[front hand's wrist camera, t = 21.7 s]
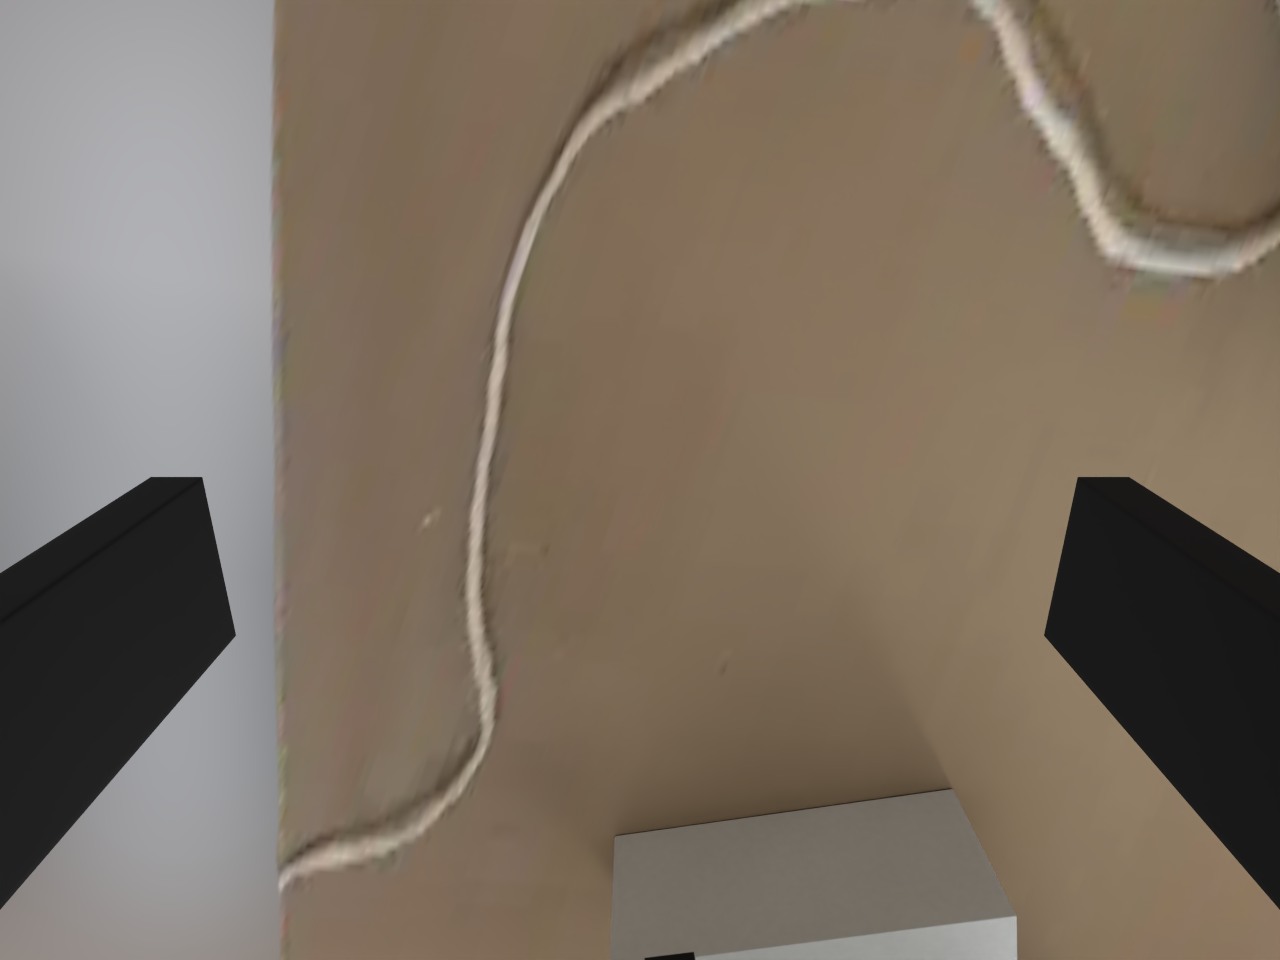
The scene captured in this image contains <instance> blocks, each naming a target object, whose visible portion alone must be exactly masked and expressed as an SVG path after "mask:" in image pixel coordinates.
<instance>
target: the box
mask: <svg viewBox="0 0 1280 960" xmlns="http://www.w3.org/2000/svg"><path fill="white" fill-rule="evenodd" d="M688 952H694V955H695V960H1017V916H1016V914H1015V912H1014V910H1013V908H1012V906H1011V904H1010V902H1009V900H1008V898H1007V896H1006V894H1005V892H1004V890H1003V888H1002V886H1001V884H1000V882H999V880H998V878H997V876H996V874H995V872H994V870H993V868H992V866H991V864H990V862H989V860H988V858H987V856H986V854H985V852H984V850H983V848H982V846H981V844H980V842H979V840H978V838H977V836H976V834H975V832H974V830H973V828H972V826H971V824H970V822H969V820H968V818H967V816H966V814H965V812H964V810H963V808H962V806H961V804H960V802H959V800H958V798H957V796H956V794H955V792H954V790H953V789H948V790H941V791H934V792H927V793H920V794H913V795H906V796H898V797H891V798H884V799H877V800H870V801H863V802H856V803H848V804H841V805H834V806H827V807H820V808H813V809H806V810H799V811H791V812H784V813H777V814H770V815H763V816H756V817H749V818H741V819H734V820H727V821H720V822H713V823H706V824H699V825H691V826H684V827H677V828H670V829H663V830H656V831H649V832H641V833H634V834H627V835H620V836H615V841H614V866H613V891H612V916H611V941H610V960H645V958H647V957H656V956H664V955H672V954H680V953H688Z"/></svg>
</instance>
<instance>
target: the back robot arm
mask: <svg viewBox="0 0 1280 960" xmlns="http://www.w3.org/2000/svg"><path fill="white" fill-rule="evenodd" d="M645 960H695V955H694V952H688V953H680V954H672V955H664V956H656V957H647V958H645Z"/></svg>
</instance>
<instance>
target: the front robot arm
mask: <svg viewBox="0 0 1280 960" xmlns="http://www.w3.org/2000/svg"><path fill="white" fill-rule="evenodd" d="M235 636H236V634H235V629H234V624H233V620H232V615H231V610H230V606H229V601H228V596H227V591H226V587H225V582H224V577H223V573H222V568H221V563H220V559H219V554H218V549H217V545H216V540H215V535H214V531H213V526H212V521H211V516H210V512H209V507H208V502H207V498H206V493H205V488H204V484H203V479H202V477H150V478H149V479H147V480H146V481H144V482H143V483H141V484H140V485H138V486H137V487H135V488H133V489H132V490H130V491H129V492H127V493H125V494H124V495H122V496H121V497H119V498H118V499H116V500H115V501H113V502H111V503H110V504H108V505H107V506H105V507H104V508H102V509H100V510H99V511H97V512H96V513H94V514H92V515H91V516H89V517H88V518H86V519H85V520H83V521H81V522H80V523H78V524H77V525H75V526H74V527H72V528H71V529H69V530H67V531H66V532H64V533H63V534H61V535H60V536H58V537H56V538H55V539H53V540H52V541H50V542H49V543H47V544H45V545H44V546H42V547H41V548H39V549H38V550H36V551H34V552H33V553H31V554H30V555H28V556H27V557H25V558H23V559H22V560H20V561H19V562H17V563H16V564H14V565H12V566H11V567H9V568H8V569H6V570H5V571H3V572H2V573H0V909H1V908H2V907H3V906H4V905H5V903H6V902H7V901H8V900H9V899H10V898H11V896H12V895H13V894H14V893H15V892H16V890H17V889H18V888H19V887H20V886H21V885H22V884H23V882H24V881H25V880H26V879H27V878H28V877H29V875H30V874H31V873H32V872H33V871H34V870H35V869H36V867H37V866H38V865H39V864H40V863H41V862H42V860H43V859H44V858H45V857H46V856H47V855H48V853H49V852H50V851H51V850H52V849H53V848H54V846H55V845H56V844H57V843H58V842H59V841H60V839H61V838H62V837H63V836H64V835H65V834H66V832H67V831H68V830H69V829H70V828H71V827H72V825H73V824H74V823H75V822H76V821H77V820H78V818H79V817H80V816H81V815H82V814H83V813H84V812H85V810H86V809H87V808H88V807H89V806H90V805H91V803H92V802H93V801H94V800H95V799H96V797H97V796H98V795H99V794H100V793H101V792H102V791H103V789H104V788H105V787H106V786H107V785H108V784H109V782H110V781H111V780H112V779H113V778H114V777H115V775H116V774H117V773H118V772H119V771H120V770H121V768H122V767H123V766H124V765H125V764H126V763H127V761H128V760H129V759H130V758H131V757H132V756H133V755H134V753H135V752H136V751H137V750H138V749H139V747H140V746H141V745H142V744H143V743H144V742H145V740H146V739H147V738H148V737H149V736H150V735H151V734H152V732H153V731H154V730H155V729H156V728H157V727H158V725H159V724H160V723H161V722H162V721H163V720H164V718H165V717H166V716H167V715H168V714H169V713H170V711H171V710H172V709H173V708H174V707H175V706H176V704H177V703H178V702H179V701H180V700H181V699H182V698H183V696H184V695H185V694H186V693H187V692H188V691H189V689H190V688H191V687H192V686H193V685H194V684H195V682H196V681H197V680H198V679H199V678H200V677H201V675H202V674H203V673H204V672H205V671H206V670H207V668H208V667H209V666H210V665H211V664H212V663H213V661H214V660H215V659H216V658H217V657H218V656H219V655H220V653H221V652H222V651H223V650H224V649H225V647H226V646H227V645H228V644H229V643H230V642H231V641H232V639H233V638H234V637H235ZM1044 636H1045V637H1046V638H1047V639H1048V641H1049V642H1050V643H1051V644H1052V645H1053V646H1054V648H1055V649H1056V650H1057V651H1058V652H1059V653H1060V655H1061V656H1062V657H1063V658H1064V659H1065V660H1066V661H1067V663H1068V664H1069V665H1070V666H1071V667H1072V668H1073V670H1074V671H1075V672H1076V673H1077V674H1078V675H1079V677H1080V678H1081V679H1082V680H1083V681H1084V682H1085V684H1086V685H1087V686H1088V687H1089V688H1090V689H1091V691H1092V692H1093V693H1094V694H1095V695H1096V696H1097V698H1098V699H1099V700H1100V701H1101V702H1102V703H1103V705H1104V706H1105V707H1106V708H1107V709H1108V710H1109V711H1110V713H1111V714H1112V715H1113V716H1114V717H1115V718H1116V720H1117V721H1118V722H1119V723H1120V724H1121V725H1122V727H1123V728H1124V729H1125V730H1126V731H1127V732H1128V734H1129V735H1130V736H1131V737H1132V738H1133V739H1134V741H1135V742H1136V743H1137V744H1138V745H1139V746H1140V748H1141V749H1142V750H1143V751H1144V752H1145V753H1146V755H1147V756H1148V757H1149V758H1150V759H1151V760H1152V762H1153V763H1154V764H1155V765H1156V766H1157V767H1158V768H1159V770H1160V771H1161V772H1162V773H1163V774H1164V775H1165V777H1166V778H1167V779H1168V780H1169V781H1170V782H1171V784H1172V785H1173V786H1174V787H1175V788H1176V789H1177V791H1178V792H1179V793H1180V794H1181V795H1182V796H1183V798H1184V799H1185V800H1186V801H1187V802H1188V803H1189V805H1190V806H1191V807H1192V808H1193V809H1194V810H1195V812H1196V813H1197V814H1198V815H1199V816H1200V817H1201V818H1202V820H1203V821H1204V822H1205V823H1206V824H1207V825H1208V827H1209V828H1210V829H1211V830H1212V831H1213V832H1214V834H1215V835H1216V836H1217V837H1218V838H1219V839H1220V841H1221V842H1222V843H1223V844H1224V845H1225V846H1226V848H1227V849H1228V850H1229V851H1230V852H1231V853H1232V855H1233V856H1234V857H1235V858H1236V859H1237V860H1238V862H1239V863H1240V864H1241V865H1242V866H1243V867H1244V869H1245V870H1246V871H1247V872H1248V873H1249V874H1250V875H1251V877H1252V878H1253V879H1254V880H1255V881H1256V882H1257V884H1258V885H1259V886H1260V887H1261V888H1262V889H1263V891H1264V892H1265V893H1266V894H1267V895H1268V896H1269V898H1270V899H1271V900H1272V901H1273V902H1274V903H1275V905H1276V906H1277V907H1278V908H1279V909H1280V573H1279V572H1277V571H1275V570H1274V569H1272V568H1271V567H1269V566H1268V565H1266V564H1264V563H1263V562H1261V561H1260V560H1258V559H1257V558H1255V557H1253V556H1252V555H1250V554H1249V553H1247V552H1246V551H1244V550H1242V549H1241V548H1239V547H1238V546H1236V545H1235V544H1233V543H1231V542H1230V541H1228V540H1227V539H1225V538H1224V537H1222V536H1220V535H1219V534H1217V533H1216V532H1214V531H1213V530H1211V529H1210V528H1208V527H1206V526H1205V525H1203V524H1202V523H1200V522H1199V521H1197V520H1195V519H1194V518H1192V517H1191V516H1189V515H1188V514H1186V513H1184V512H1183V511H1181V510H1180V509H1178V508H1177V507H1175V506H1173V505H1172V504H1170V503H1169V502H1167V501H1166V500H1164V499H1162V498H1161V497H1159V496H1158V495H1156V494H1155V493H1153V492H1151V491H1150V490H1148V489H1147V488H1145V487H1144V486H1142V485H1140V484H1139V483H1137V482H1136V481H1134V480H1133V479H1131V478H1130V477H1078V479H1077V484H1076V488H1075V493H1074V498H1073V502H1072V507H1071V512H1070V516H1069V521H1068V526H1067V530H1066V535H1065V540H1064V545H1063V549H1062V554H1061V559H1060V563H1059V568H1058V573H1057V577H1056V582H1055V587H1054V591H1053V596H1052V601H1051V606H1050V610H1049V615H1048V620H1047V624H1046V629H1045V634H1044Z"/></svg>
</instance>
